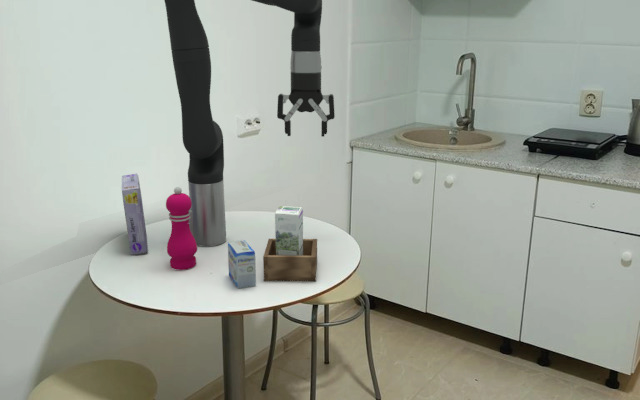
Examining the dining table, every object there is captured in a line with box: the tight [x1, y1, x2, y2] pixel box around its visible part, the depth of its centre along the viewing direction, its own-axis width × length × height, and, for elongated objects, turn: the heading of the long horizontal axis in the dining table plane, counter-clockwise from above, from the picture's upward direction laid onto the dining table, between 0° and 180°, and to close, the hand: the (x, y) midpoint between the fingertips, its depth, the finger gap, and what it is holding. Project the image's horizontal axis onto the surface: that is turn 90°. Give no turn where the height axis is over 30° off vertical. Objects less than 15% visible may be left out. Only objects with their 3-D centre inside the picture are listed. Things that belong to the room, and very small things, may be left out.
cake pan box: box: [121, 173, 149, 255], centre depth 158 cm, size 19×5×18 cm, turn 18°
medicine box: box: [227, 239, 257, 289], centre depth 135 cm, size 8×4×9 cm, turn 23°
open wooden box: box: [262, 238, 318, 282], centre depth 141 cm, size 12×12×6 cm
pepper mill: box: [165, 186, 198, 271], centre depth 142 cm, size 7×7×20 cm
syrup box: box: [274, 205, 304, 256], centre depth 140 cm, size 6×6×14 cm
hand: (306, 135), depth 149 cm, fingers open, 8 cm apart
